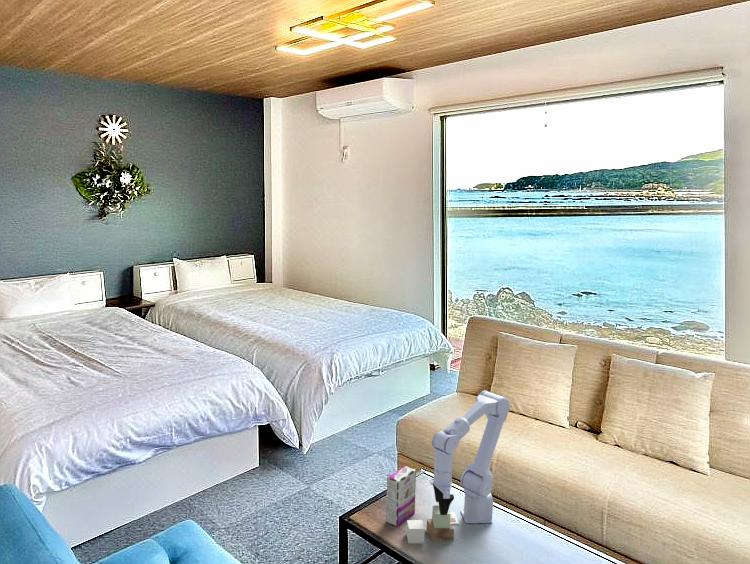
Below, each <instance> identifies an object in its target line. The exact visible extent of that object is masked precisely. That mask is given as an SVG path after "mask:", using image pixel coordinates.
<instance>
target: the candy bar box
mask: <svg viewBox="0 0 750 564" xmlns="http://www.w3.org/2000/svg"><path fill="white" fill-rule="evenodd" d="M416 478H417V470H416V469H415V468H412V467H409V466H407V465H404V466H403V467H400V469H397V471H395V472H393V473H392V474H390V475H389V476H387V477H386V519H385V520H386V522H385V523H388V524H390V525H392V526H394V527H399V526H400V525H401V524H403V523H404V522H405V521H407V520H408V519H409V518H410V517H412V516H413V515H414V514H415V513H416V512H415V511H416V484H417V482H416V480H417V479H416Z"/></svg>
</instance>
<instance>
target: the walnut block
mask: <svg viewBox="0 0 750 564" xmlns="http://www.w3.org/2000/svg"><path fill="white" fill-rule="evenodd" d="M426 531H427V534H428V535H429V537H430V539H431V541H432V543H434V542H435V543H436V542H445V541H454V538H455V528H454V525H451V523H450V528H434V525H433V521H432V518H427V519H426Z"/></svg>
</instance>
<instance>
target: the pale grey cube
mask: <svg viewBox="0 0 750 564" xmlns="http://www.w3.org/2000/svg"><path fill="white" fill-rule="evenodd" d="M406 538H407V543H408V544H425V526H424V522H423V519H409V520H408V519H406Z"/></svg>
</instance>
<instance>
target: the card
mask: <svg viewBox="0 0 750 564" xmlns="http://www.w3.org/2000/svg"><path fill="white" fill-rule="evenodd" d="M450 523H451V525H452V526H454V525H455V526H456V525H459V522H458V519H457V516H456V513H455V511H450ZM459 526H460V525H459Z"/></svg>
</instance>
